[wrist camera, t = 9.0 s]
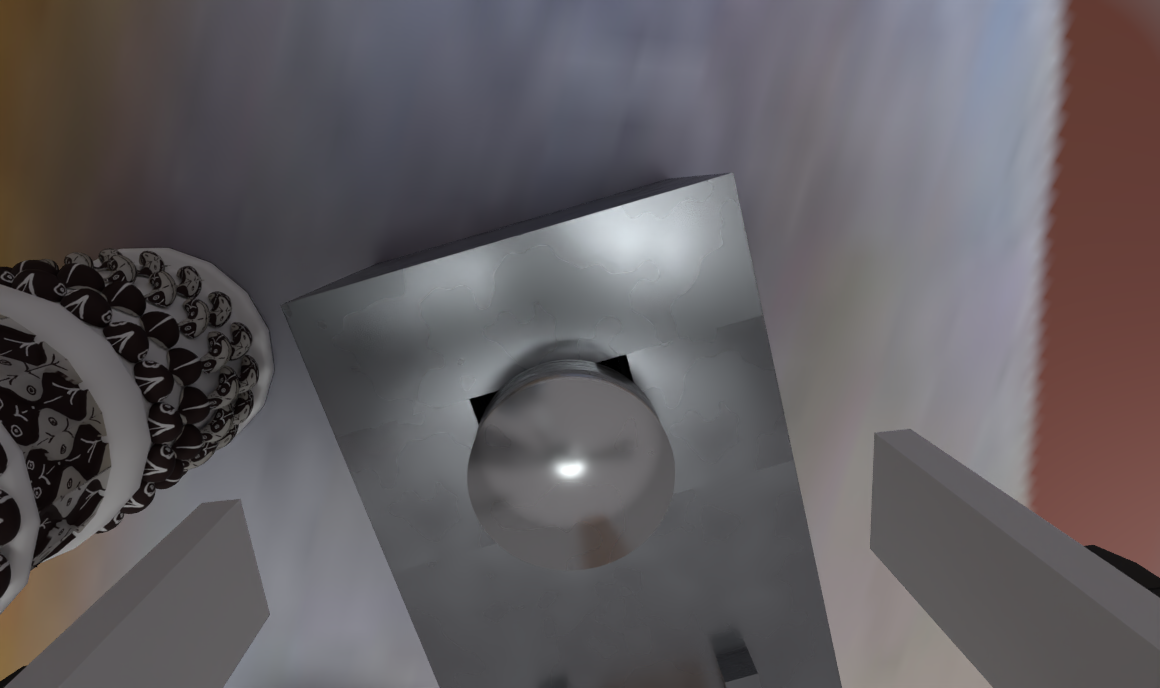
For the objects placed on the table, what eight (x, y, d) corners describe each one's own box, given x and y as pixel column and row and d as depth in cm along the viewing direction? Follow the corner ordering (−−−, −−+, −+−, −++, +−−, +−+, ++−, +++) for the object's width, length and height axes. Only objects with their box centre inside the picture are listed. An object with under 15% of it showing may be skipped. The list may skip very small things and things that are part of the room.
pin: (482, 324, 24) (438, 413, 15) (608, 288, 24) (646, 354, 15) (521, 441, 26) (503, 593, 16) (640, 407, 26) (695, 539, 16)
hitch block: (373, 265, 24) (262, 312, 15) (669, 178, 24) (745, 171, 14) (536, 706, 29) (530, 942, 20) (779, 640, 29) (884, 848, 20)
